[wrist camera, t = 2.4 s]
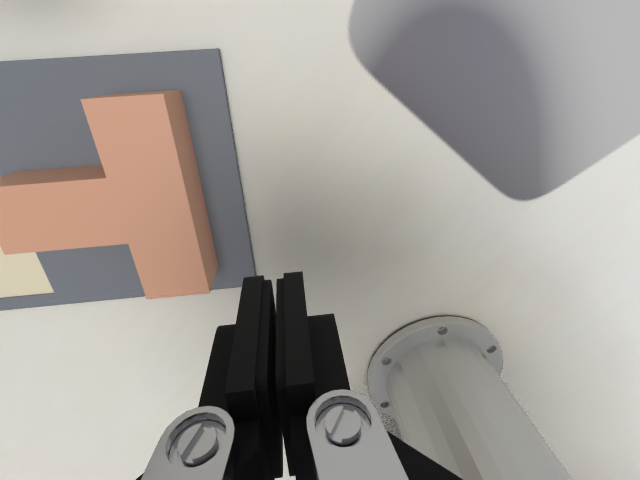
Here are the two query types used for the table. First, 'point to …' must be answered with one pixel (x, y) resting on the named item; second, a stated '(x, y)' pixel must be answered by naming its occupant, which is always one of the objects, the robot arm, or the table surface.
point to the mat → (80, 150)
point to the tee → (122, 196)
